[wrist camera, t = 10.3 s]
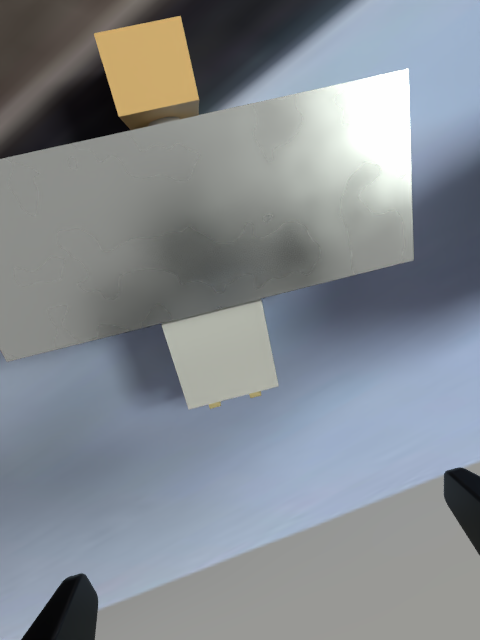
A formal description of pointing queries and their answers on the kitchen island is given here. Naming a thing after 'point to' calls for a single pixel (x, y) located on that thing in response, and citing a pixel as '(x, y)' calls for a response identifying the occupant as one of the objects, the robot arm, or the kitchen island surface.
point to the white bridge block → (203, 213)
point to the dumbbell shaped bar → (156, 108)
